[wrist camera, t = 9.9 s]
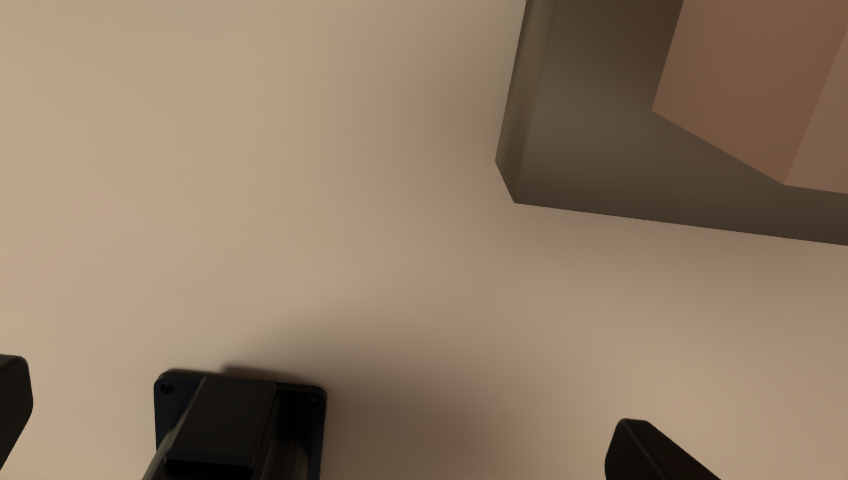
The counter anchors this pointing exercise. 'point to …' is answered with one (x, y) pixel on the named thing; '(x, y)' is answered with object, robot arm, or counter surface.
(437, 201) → the counter surface
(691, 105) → the brown cube
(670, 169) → the walnut base
